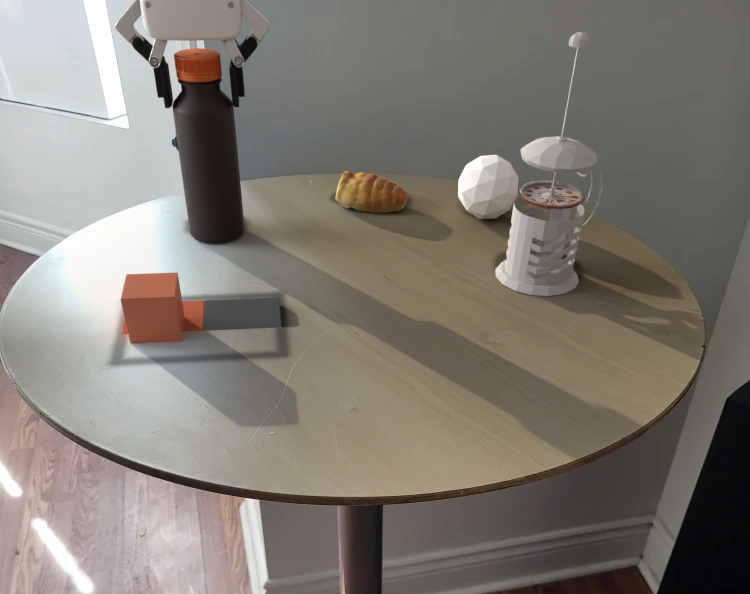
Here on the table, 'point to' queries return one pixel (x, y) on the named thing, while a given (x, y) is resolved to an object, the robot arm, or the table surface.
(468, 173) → the geometric ball
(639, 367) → the table surface
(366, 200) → the pastry
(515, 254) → the french press
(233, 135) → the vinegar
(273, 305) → the mat
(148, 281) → the terracotta block
